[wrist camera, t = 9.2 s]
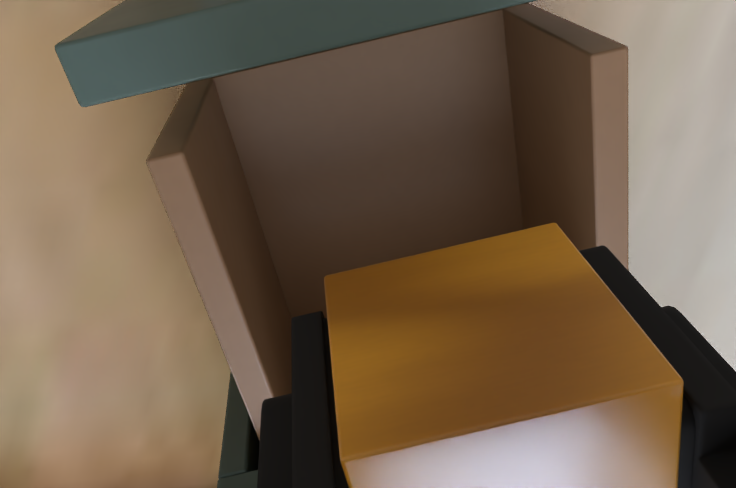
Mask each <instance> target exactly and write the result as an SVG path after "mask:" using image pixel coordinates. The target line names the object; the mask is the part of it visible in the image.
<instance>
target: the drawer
mask: <svg viewBox="0 0 736 488" xmlns="http://www.w3.org/2000/svg"><path fill="white" fill-rule="evenodd" d="M532 1H537V0H125V1H123V2H122V3H120V4H119V5H117V6H115V7H114V8H112V9H111V10H109V11H108V12H106V13H105V14H103V15H101V16H100V17H98V18H97V19H95V20H94V21H92V22H90V23H89V24H87V25H86V26H84V27H83V28H81V29H79V30H78V31H76V32H75V33H73V34H72V35H70V36H69V37H67V38H65V39H64V40H62V41H61V42H59V43H58V44H56V45H55V51H56V53H57V55H58V57H59V60H60V62H61V64H62V66H63V69H64V71H65V73H66V76H67V78H68V80H69V82H70V85H71V87H72V89H73V91H74V94H75V96H76V98H77V100H78V103H79V104H80V106H81V107H88V106H92V105H97V104H101V103H105V102H109V101H114V100H118V99H122V98H126V97H131V96H135V95H139V94H143V93H147V92H152V91H156V90H160V89H164V88H169V87H173V86H177V85H181V84H186V86H185V88H184V90H183V92H182V94H181V96H180V98H179V100H178V101H177V103H176V105H175V107H174V109H173V111H172V113H171V115H170V116H169V118H168V120H167V122H166V124H165V126H164V128H163V130H162V131H161V133H160V135H159V137H158V139H157V141H156V143H155V145H154V146H153V148H152V150H151V152H150V154H149V156H148V158H147V160H146V163H147V166H148V168H149V171H150V173H151V176H152V178H153V181H154V183H155V186H156V188H157V190H158V193H159V195H160V198H161V200H162V203H163V205H164V208H165V210H166V213H167V215H168V217H169V220H170V222H171V225H172V227H173V230H174V232H175V235H176V237H177V240H178V242H179V244H180V247H181V249H182V252H183V254H184V257H185V259H186V262H187V264H188V267H189V269H190V271H191V274H192V276H193V279H194V281H195V284H196V286H197V289H198V291H199V294H200V296H201V298H202V301H203V303H204V306H205V308H206V311H207V313H208V316H209V318H210V321H211V323H212V325H213V328H214V330H215V333H216V335H217V338H218V340H219V343H220V345H221V348H222V350H223V352H224V355H225V357H226V360H227V362H228V365H229V367H230V370H231V372H232V375H233V377H234V379H235V382H236V384H237V387H238V389H239V392H240V394H241V397H242V399H243V402H244V404H245V406H246V409H247V411H248V414H249V416H250V419H251V421H252V424H253V426H254V429H255V431H256V433H257V436H258V438H259V441H260V424H261V408H262V403H263V401H264V400H265V399H269V398H273V397H278V396H282V395H286V394H290V393H292V353H291V320H292V317H297V316H301V315H305V314H310V313H314V312H318V311H322V312H323V314H324V317H325V318H327V310H326V299H325V288H324V277H325V276H327V275H331V274H335V273H339V272H344V271H348V270H352V269H357V268H361V267H365V266H369V265H374V264H378V263H382V262H387V261H391V260H395V259H399V258H404V257H408V256H412V255H417V254H421V253H425V252H429V251H434V250H438V249H442V248H447V247H451V246H455V245H459V244H464V243H468V242H472V241H476V240H481V239H485V238H489V237H494V236H498V235H502V234H506V233H511V232H515V231H519V230H524V229H528V228H532V227H536V226H541V225H545V224H549V223H557V225H558V226H559V227H560V228H561V230H562V231H563V232H564V233H565V235H566V236H567V237H568V238H569V240H570V241H571V242H572V243H573V244H574V246H575V247H576V248H577V249H578V251H580V250H584V249H589V248H593V247H597V246H602V245H603V246H606V247H607V248H608V249H609V250H610V251H611V252H612V253H613V254H614V256H615V257H616V258H617V259H618V260H619V261H620V262H621V263H622V264H623V266H624V267H625V268H626V269H627V270H628V47H627V46H625V45H623V44H621V43H618V42H616V41H614V40H611V39H609V38H607V37H605V36H602V35H600V34H598V33H595V32H593V31H591V30H589V29H586V28H584V27H582V26H579V25H577V24H575V23H572V22H570V21H568V20H566V19H563V18H561V17H559V16H556V15H554V14H552V13H550V12H547V11H545V10H543V9H540V8H538V7H536V6H534V5H531V4H529V3H528V2H532Z"/></svg>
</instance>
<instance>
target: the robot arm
mask: <svg viewBox="0 0 736 488" xmlns="http://www.w3.org/2000/svg"><path fill="white" fill-rule="evenodd" d="M579 252H580V253H581V254H582V256H583V257H584V258H585V259H586V260H587V262H588V263H589V264H590V265H591V267H592V268H593V269H594V270H595V272H596V273H597V274H598V275H599V277H600V278H601V279H602V280H603V281H604V283H605V284H606V285H607V286H608V288H609V289H610V290H611V291H612V293H613V294H614V295H615V296H616V297H617V299H618V300H619V301H620V302H621V304H622V305H623V306H624V307H625V309H626V310H627V311H628V312H629V314H630V315H631V316H632V317H633V318H634V320H635V321H636V322H637V323H638V325H639V326H640V327H641V328H642V330H643V331H644V332H645V333H646V334H647V336H648V337H649V338H650V339H651V341H652V342H653V343H654V344H655V346H656V347H657V348H658V349H659V351H660V352H661V353H662V354H663V355H664V357H665V358H666V359H667V360H668V362H669V363H670V364H671V365H672V367H673V368H674V369H675V370H676V372H677V373H678V374H679V375H680V376H681V378H682V379H683V382H684V386H683V403H682V420H681V437H680V454H679V470H678V487H677V488H736V372H735V371H734V369H733V368H732V367H731V366H730V365H729V364H728V363H727V362H726V361H725V360H724V359H723V358H722V357H721V356H720V354H719V353H718V352H717V351H716V350H715V349H714V348H713V347H712V346H711V345H710V344H709V343H708V342H707V341H706V339H705V338H704V337H703V336H702V335H701V334H700V333H699V332H698V331H697V330H696V329H695V328H694V327H693V325H692V324H691V323H690V322H689V321H688V320H687V319H686V318H685V317H684V316H683V315H682V314H681V313H680V312H679V311H678V310H677V309H676V308H674V307H671V306H665V307H660V306H659V305H658V304H657V302H656V301H655V300H654V299H653V298H652V297H651V296H650V295H649V293H648V292H647V291H646V290H645V289H644V288H643V287H642V286H641V285H640V283H639V282H638V281H637V280H636V279H635V278H634V277H633V276H632V275H631V273H630V272H629V271H628V270H627V269H626V268H625V267H624V266H623V264H622V263H621V262H620V261H619V260H618V259H617V258H616V257H615V256H614V254H613V253H612V252H611V251H610V250H609V249H608V248H607V247H606V246H603V245H602V246H597V247H593V248H589V249H584V250H580V251H579ZM291 353H292V393H290V394H286V395H282V396H278V397H273V398H269V399H265V400H264V401H263V403H262V408H261V424H260V443H259V461H258V480H257V488H349V486H348V483H347V480H346V477H345V474H344V471H343V468H342V465H341V462H340V456H339V445H338V433H337V422H336V411H335V400H334V388H333V377H332V366H331V355H330V344H329V332H328V321H327V318H325V317H324V314H323V312H322V311H318V312H314V313H310V314H305V315H301V316H297V317H292V320H291Z"/></svg>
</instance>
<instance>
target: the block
mask: <svg viewBox="0 0 736 488" xmlns="http://www.w3.org/2000/svg"><path fill="white" fill-rule="evenodd" d="M324 288H325V299H326V310H327V321H328V332H329V344H330V355H331V366H332V377H333V388H334V400H335V411H336V422H337V433H338V445H339V456H340V462H341V465H342V468H343V471H344V474H345V477H346V480H347V483H348V486H349V488H677V487H678V470H679V454H680V437H681V420H682V403H683V386H684V382H683V379H682V378H681V376H680V375H679V374H678V373H677V372H676V370H675V369H674V368H673V367H672V365H671V364H670V363H669V362H668V360H667V359H666V358H665V357H664V355H663V354H662V353H661V352H660V351H659V349H658V348H657V347H656V346H655V344H654V343H653V342H652V341H651V339H650V338H649V337H648V336H647V334H646V333H645V332H644V331H643V330H642V328H641V327H640V326H639V325H638V323H637V322H636V321H635V320H634V318H633V317H632V316H631V315H630V314H629V312H628V311H627V310H626V309H625V307H624V306H623V305H622V304H621V302H620V301H619V300H618V299H617V297H616V296H615V295H614V294H613V293H612V291H611V290H610V289H609V288H608V286H607V285H606V284H605V283H604V281H603V280H602V279H601V278H600V277H599V275H598V274H597V273H596V272H595V270H594V269H593V268H592V267H591V265H590V264H589V263H588V262H587V260H586V259H585V258H584V257H583V256H582V254H581V253H580V252H579V251H578V249H577V248H576V247H575V246H574V244H573V243H572V242H571V241H570V240H569V238H568V237H567V236H566V235H565V233H564V232H563V231H562V230H561V228H560V227H559V226H558V225H557V223H549V224H545V225H541V226H536V227H532V228H528V229H524V230H519V231H515V232H511V233H506V234H502V235H498V236H494V237H489V238H485V239H481V240H476V241H472V242H468V243H464V244H459V245H455V246H451V247H447V248H442V249H438V250H434V251H429V252H425V253H421V254H417V255H412V256H408V257H404V258H399V259H395V260H391V261H387V262H382V263H378V264H374V265H369V266H365V267H361V268H357V269H352V270H348V271H344V272H339V273H335V274H331V275H327V276H325V277H324Z"/></svg>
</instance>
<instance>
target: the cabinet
mask: <svg viewBox="0 0 736 488" xmlns="http://www.w3.org/2000/svg"><path fill="white" fill-rule="evenodd" d="M259 443H260V441H259V438H258V436H257V433H256V431H255V429H254V426H253V424H252V421H251V419H250V416H249V414H248V411H247V409H246V406H245V404H244V402H243V399H242V397H241V394H240V392H239V389H238V387H237V384H236V382H235V379H234V377H233V375H232V372H231V374H230V382H229V391H228V400H227V408H226V417H225V425H224V434H223V442H222V451H221V460H220V468H219V477H218V478H219V480H218V484H217V488H257V480H258V461H259Z"/></svg>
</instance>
